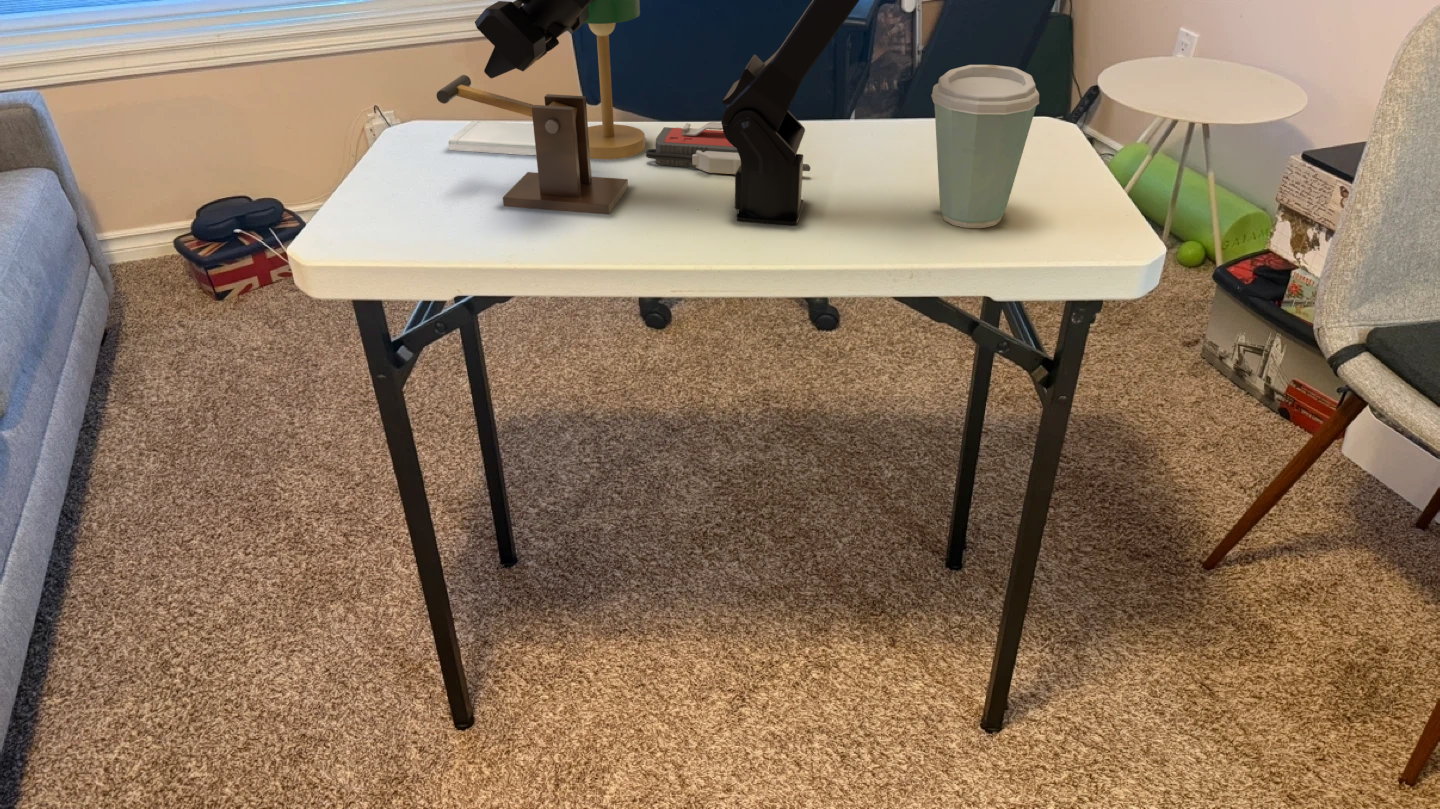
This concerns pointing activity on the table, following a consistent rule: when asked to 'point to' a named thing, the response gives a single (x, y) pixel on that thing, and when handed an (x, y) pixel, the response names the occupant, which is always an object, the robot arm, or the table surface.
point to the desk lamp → (609, 139)
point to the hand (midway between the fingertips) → (488, 74)
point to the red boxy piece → (697, 149)
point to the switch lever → (485, 97)
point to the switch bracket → (564, 164)
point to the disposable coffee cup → (980, 139)
